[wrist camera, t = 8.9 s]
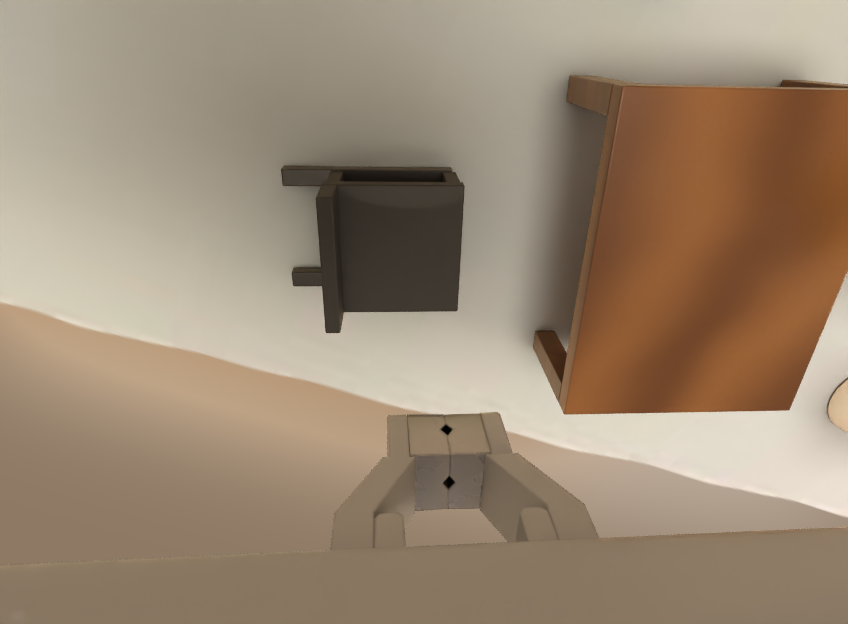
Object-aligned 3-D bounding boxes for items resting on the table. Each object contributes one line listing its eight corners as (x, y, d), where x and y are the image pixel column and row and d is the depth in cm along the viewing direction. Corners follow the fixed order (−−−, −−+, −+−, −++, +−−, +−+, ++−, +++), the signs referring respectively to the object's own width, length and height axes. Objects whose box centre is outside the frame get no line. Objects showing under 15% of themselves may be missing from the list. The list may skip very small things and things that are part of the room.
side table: (532, 347, 38) (563, 415, 31) (569, 75, 30) (622, 85, 23) (719, 345, 39) (789, 410, 32) (805, 80, 31) (923, 91, 24)
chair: (294, 281, 35) (274, 334, 28) (283, 165, 31) (257, 196, 25) (449, 281, 35) (462, 332, 29) (455, 167, 32) (470, 198, 26)
